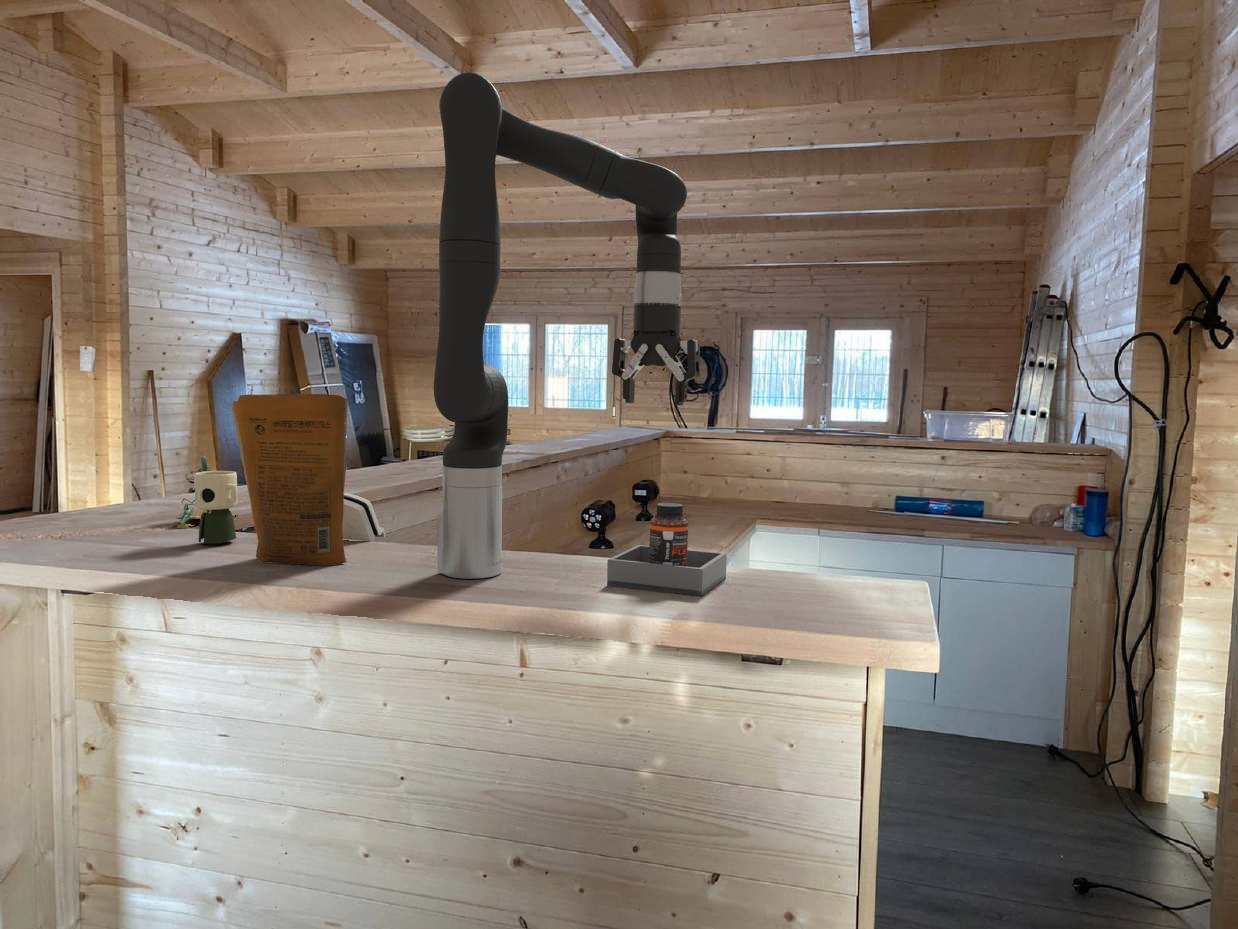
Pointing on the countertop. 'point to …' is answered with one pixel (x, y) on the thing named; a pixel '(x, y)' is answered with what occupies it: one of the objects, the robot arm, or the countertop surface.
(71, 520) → the countertop surface
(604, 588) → the countertop surface
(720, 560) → the bin
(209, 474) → the character mug
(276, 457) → the pancake mix bag
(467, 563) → the robot arm
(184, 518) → the frog figurine
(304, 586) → the countertop surface
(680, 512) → the supplement bottle
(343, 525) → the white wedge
